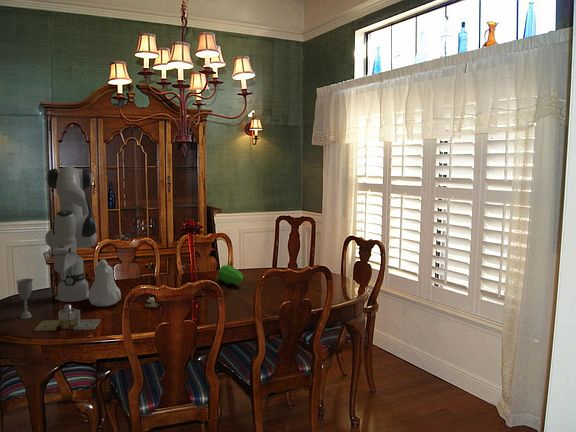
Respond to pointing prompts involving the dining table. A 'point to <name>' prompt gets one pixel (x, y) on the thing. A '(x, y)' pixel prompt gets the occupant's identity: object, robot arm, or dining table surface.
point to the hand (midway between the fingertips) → (66, 277)
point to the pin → (67, 308)
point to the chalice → (25, 294)
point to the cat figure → (151, 302)
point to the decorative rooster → (104, 286)
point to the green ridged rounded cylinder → (230, 275)
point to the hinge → (68, 322)
